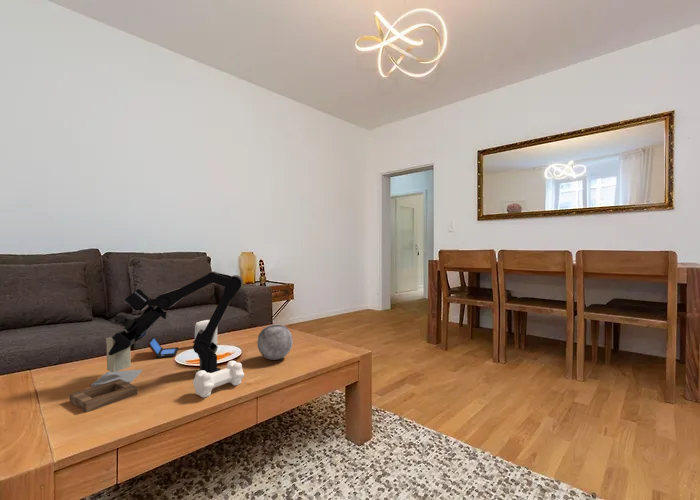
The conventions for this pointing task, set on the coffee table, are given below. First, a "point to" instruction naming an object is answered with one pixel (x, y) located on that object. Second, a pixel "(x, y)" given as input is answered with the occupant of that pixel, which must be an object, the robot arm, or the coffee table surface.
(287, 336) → the decorative orb
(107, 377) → the slate mat
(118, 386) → the walnut holder
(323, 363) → the coffee table surface
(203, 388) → the white bone
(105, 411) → the coffee table surface
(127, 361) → the skincare box
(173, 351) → the handheld game console
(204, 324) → the photo printer
